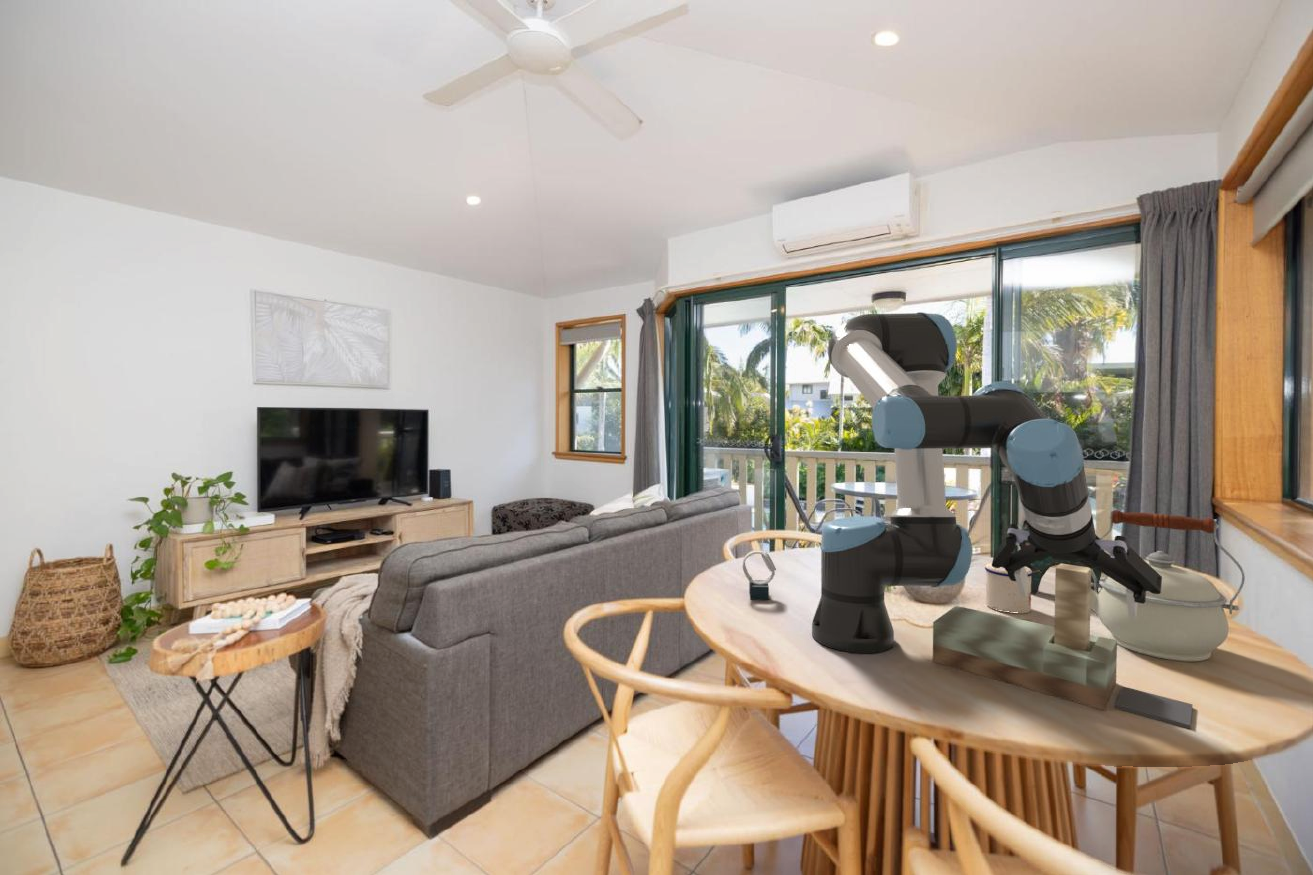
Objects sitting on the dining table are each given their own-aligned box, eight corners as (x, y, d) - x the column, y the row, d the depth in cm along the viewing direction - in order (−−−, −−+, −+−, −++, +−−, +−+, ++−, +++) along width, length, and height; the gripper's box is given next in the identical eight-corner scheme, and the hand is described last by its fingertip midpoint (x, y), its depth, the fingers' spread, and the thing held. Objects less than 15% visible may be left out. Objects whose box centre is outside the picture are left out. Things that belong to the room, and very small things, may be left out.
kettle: (1240, 648, 104) (1244, 514, 103) (1243, 681, 91) (1248, 528, 90) (1073, 615, 122) (1076, 500, 121) (1056, 639, 109) (1059, 511, 108)
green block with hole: (932, 661, 100) (933, 622, 99) (955, 641, 108) (955, 605, 108) (1105, 710, 83) (1106, 663, 82) (1116, 683, 91) (1117, 640, 91)
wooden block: (1053, 667, 90) (1055, 568, 90) (1058, 659, 93) (1060, 563, 93) (1084, 675, 87) (1086, 572, 87) (1089, 666, 90) (1091, 567, 90)
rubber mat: (1115, 708, 83) (1115, 704, 83) (1122, 689, 89) (1122, 686, 89) (1190, 728, 78) (1190, 725, 78) (1192, 707, 83) (1192, 704, 83)
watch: (777, 600, 133) (777, 554, 133) (742, 599, 134) (742, 553, 134) (775, 593, 139) (775, 548, 138) (742, 592, 140) (741, 548, 139)
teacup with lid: (1041, 615, 122) (1042, 561, 122) (997, 614, 123) (998, 561, 122) (1010, 597, 134) (1011, 548, 134) (970, 596, 135) (971, 548, 134)
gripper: (952, 525, 84) (981, 601, 95) (1180, 553, 66) (1184, 643, 77) (964, 486, 87) (991, 564, 98) (1184, 503, 70) (1187, 596, 81)
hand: (1076, 599), depth 88 cm, fingers open, 13 cm apart
